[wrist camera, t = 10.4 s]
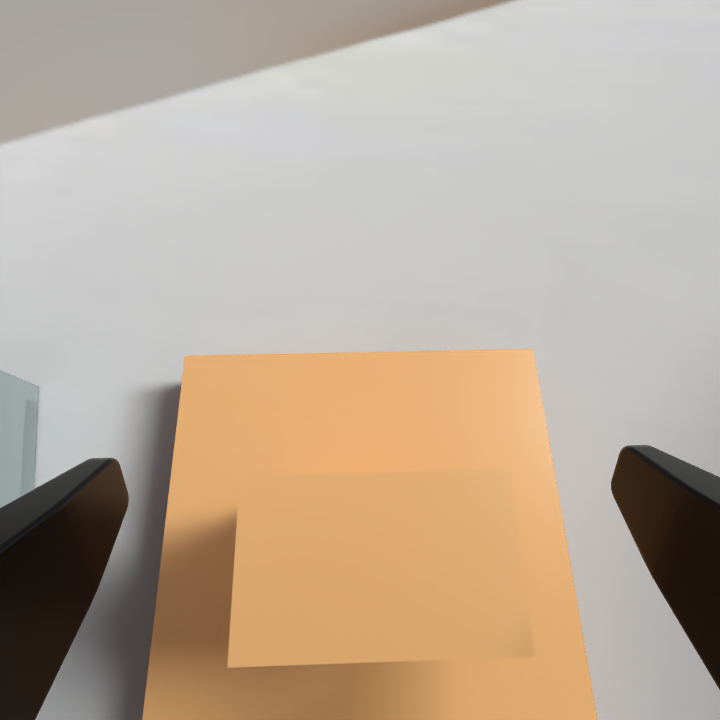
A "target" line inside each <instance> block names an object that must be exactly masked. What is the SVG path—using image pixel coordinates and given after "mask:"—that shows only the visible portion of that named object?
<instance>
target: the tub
mask: <svg viewBox="0 0 720 720" xmlns="http://www.w3.org/2000/svg"><path fill="white" fill-rule="evenodd" d="M38 392H39V386H36V385H34V384H32V383H29V382H27V381H24V380H22V379H20V378H17V377H15V376H13V375H10V374H8V373H6V372H3V371H1V370H0V508H1V507H3V506H5V505H7V504H8V503H10V502H12V501H14V500H16V499H17V498H19V497H21V496H23V495H25V494H27V493H28V492H30V491H32V490H34V483H35V460H36V438H37V415H38Z"/></svg>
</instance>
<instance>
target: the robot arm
mask: <svg viewBox="0 0 720 720" xmlns="http://www.w3.org/2000/svg"><path fill="white" fill-rule="evenodd" d="M611 490H612V494H613V496H614V499H615V501H616V503H617V505H618V507H619V509H620V511H621V513H622V515H623V517H624V520H625V522H626V524H627V526H628V528H629V530H630V532H631V534H632V536H633V538H634V541H635V543H636V545H637V547H638V549H639V551H640V553H641V555H642V557H643V560H644V562H645V564H646V565H647V567H648V569H649V571H650V573H651V575H652V577H653V579H654V580H655V582H656V584H657V586H658V588H659V589H660V591H661V593H662V594H663V596H664V598H665V599H666V601H667V603H668V604H669V606H670V608H671V609H672V611H673V613H674V614H675V616H676V618H677V619H678V621H679V623H680V624H681V626H682V628H683V629H684V631H685V633H686V634H687V636H688V638H689V639H690V641H691V643H692V644H693V646H694V648H695V649H696V651H697V653H698V655H699V656H700V658H701V660H702V661H703V663H704V665H705V666H706V668H707V670H708V671H709V673H710V675H711V676H712V678H713V680H714V681H715V683H716V685H717V686H718V688H719V690H720V477H718V476H716V475H713V474H711V473H709V472H707V471H705V470H702V469H700V468H698V467H696V466H694V465H691V464H689V463H687V462H685V461H683V460H680V459H678V458H676V457H674V456H672V455H669V454H667V453H665V452H663V451H660V450H658V449H656V448H654V447H651V446H648V445H631V446H626V447H624V448H623V449H622V450H621V451H620V454H619V457H618V461H617V464H616V467H615V471H614V474H613V477H612V481H611ZM128 501H129V497H128V491H127V488H126V484H125V481H124V478H123V474H122V471H121V467H120V465H119V462H118V461H117V460H116V459H114V458H92V459H89V460H86V461H85V462H83V463H81V464H79V465H77V466H76V467H74V468H72V469H70V470H68V471H66V472H65V473H63V474H61V475H59V476H57V477H56V478H54V479H52V480H50V481H48V482H46V483H45V484H43V485H41V486H39V487H37V488H36V489H34V490H32V491H30V492H28V493H27V494H25V495H23V496H21V497H19V498H17V499H16V500H14V501H12V502H10V503H8V504H7V505H5V506H3V507H1V508H0V720H35V719H36V717H37V715H38V713H39V710H40V708H41V706H42V704H43V702H44V700H45V698H46V696H47V694H48V692H49V690H50V688H51V686H52V684H53V681H54V679H55V677H56V675H57V673H58V671H59V669H60V667H61V665H62V663H63V661H64V659H65V657H66V655H67V652H68V650H69V648H70V646H71V644H72V642H73V640H74V638H75V636H76V634H77V632H78V630H79V628H80V626H81V623H82V621H83V619H84V617H85V615H86V613H87V611H88V609H89V607H90V605H91V602H92V600H93V598H94V596H95V594H96V591H97V589H98V586H99V584H100V581H101V579H102V576H103V574H104V571H105V568H106V565H107V563H108V560H109V557H110V554H111V552H112V549H113V546H114V543H115V541H116V538H117V535H118V532H119V530H120V527H121V524H122V521H123V519H124V516H125V513H126V510H127V507H128Z"/></svg>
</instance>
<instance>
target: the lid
mask: <svg viewBox="0 0 720 720" xmlns="http://www.w3.org/2000/svg"><path fill="white" fill-rule="evenodd" d="M142 720H597V714H596V708H595V703H594V697H593V691H592V685H591V680H590V674H589V668H588V662H587V656H586V651H585V645H584V639H583V633H582V628H581V622H580V616H579V610H578V605H577V599H576V593H575V587H574V582H573V576H572V570H571V564H570V558H569V553H568V547H567V541H566V535H565V530H564V524H563V518H562V512H561V507H560V501H559V495H558V489H557V484H556V478H555V472H554V466H553V460H552V455H551V449H550V443H549V437H548V432H547V426H546V420H545V414H544V409H543V403H542V397H541V391H540V386H539V380H538V374H537V368H536V362H535V357H534V351H533V349H520V350H469V351H417V352H366V353H315V354H263V355H212V356H185V358H184V367H183V375H182V384H181V392H180V401H179V409H178V418H177V427H176V435H175V444H174V452H173V461H172V469H171V478H170V486H169V495H168V503H167V512H166V521H165V529H164V538H163V546H162V555H161V563H160V572H159V580H158V589H157V598H156V606H155V615H154V623H153V632H152V640H151V649H150V657H149V666H148V674H147V683H146V692H145V700H144V709H143V717H142Z"/></svg>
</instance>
